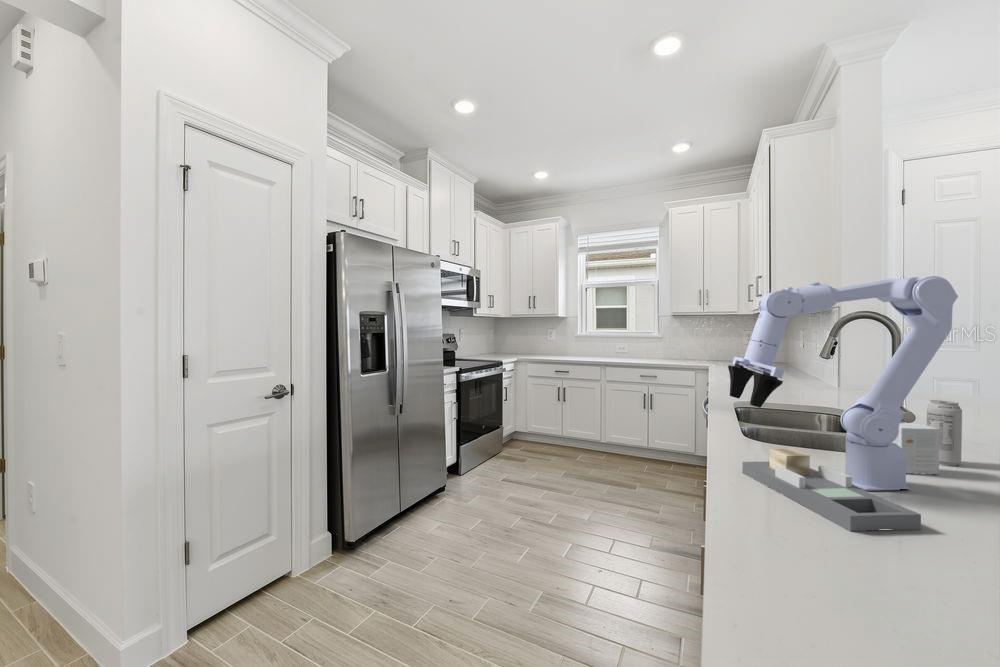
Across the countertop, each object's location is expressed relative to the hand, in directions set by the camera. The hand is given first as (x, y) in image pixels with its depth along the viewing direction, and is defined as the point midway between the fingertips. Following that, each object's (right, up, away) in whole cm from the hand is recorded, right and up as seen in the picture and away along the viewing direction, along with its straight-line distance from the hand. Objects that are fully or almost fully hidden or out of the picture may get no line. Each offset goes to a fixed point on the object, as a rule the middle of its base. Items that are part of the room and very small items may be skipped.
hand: (744, 401), depth 97 cm
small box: (+40, -17, +3) cm, 43 cm away
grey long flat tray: (+7, -16, -13) cm, 22 cm away
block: (+6, -14, -6) cm, 16 cm away
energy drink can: (+53, -17, +8) cm, 57 cm away
